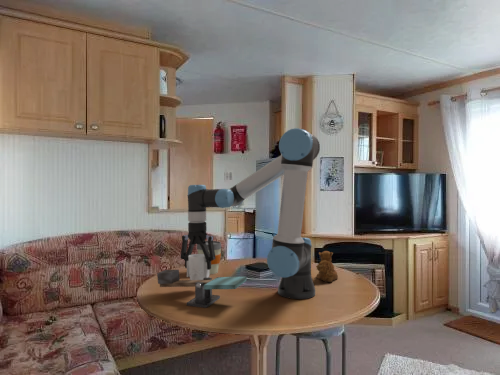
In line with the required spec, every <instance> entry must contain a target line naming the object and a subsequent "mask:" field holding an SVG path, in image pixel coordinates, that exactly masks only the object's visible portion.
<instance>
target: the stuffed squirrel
mask: <svg viewBox="0 0 500 375" xmlns="http://www.w3.org/2000/svg"><path fill="white" fill-rule="evenodd" d="M333 254H334V252H332V251H331V252H330V251H328V250H324V251H322V252H320V251H319V252H318V255H319V258H320V262H318V264H317V265H315V267H316V270H317V271H318V273H317V274H316V278H317V279H318V280H322V281H323V282H326V283H332V282H333V281H335V280H338V275H339V274H338V273H337V271H336V270H335V266H334V264H333V262H332V256H333Z"/></svg>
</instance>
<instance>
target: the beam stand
mask: <svg viewBox="0 0 500 375" xmlns="http://www.w3.org/2000/svg"><path fill="white" fill-rule="evenodd" d="M203 280H213V278H212V277H210V276H209V277H208V278H203ZM204 285H205V283H204V282H196V283H195V287H194V291H195V293H194V294H195V295H194V297H193V298H192V299H190V300H188V301H187V302H186V306H189V307H197V308H203V309H206V308H208V307H210V306H211V305H213V304H214V303H215V302H217V301H218V300H220V299H221V295H218V294H213V289H204Z"/></svg>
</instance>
